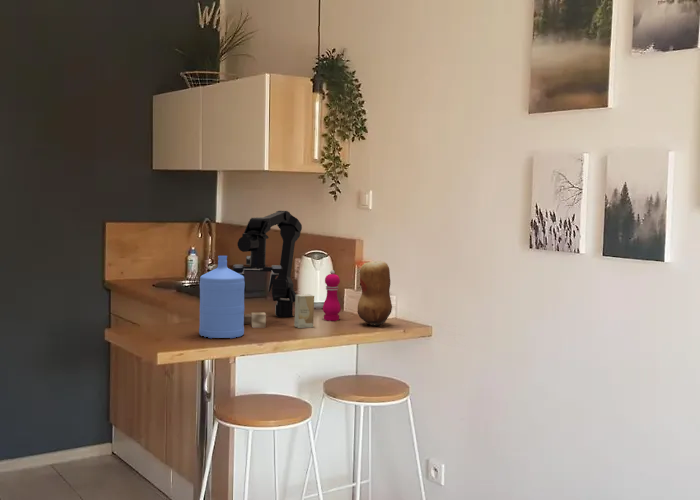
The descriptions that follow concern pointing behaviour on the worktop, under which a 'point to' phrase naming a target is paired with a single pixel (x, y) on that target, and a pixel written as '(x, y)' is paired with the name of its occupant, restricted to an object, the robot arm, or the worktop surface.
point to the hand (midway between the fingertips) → (257, 291)
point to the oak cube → (259, 320)
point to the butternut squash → (375, 293)
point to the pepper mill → (331, 297)
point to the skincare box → (304, 311)
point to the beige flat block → (247, 318)
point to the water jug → (222, 302)
